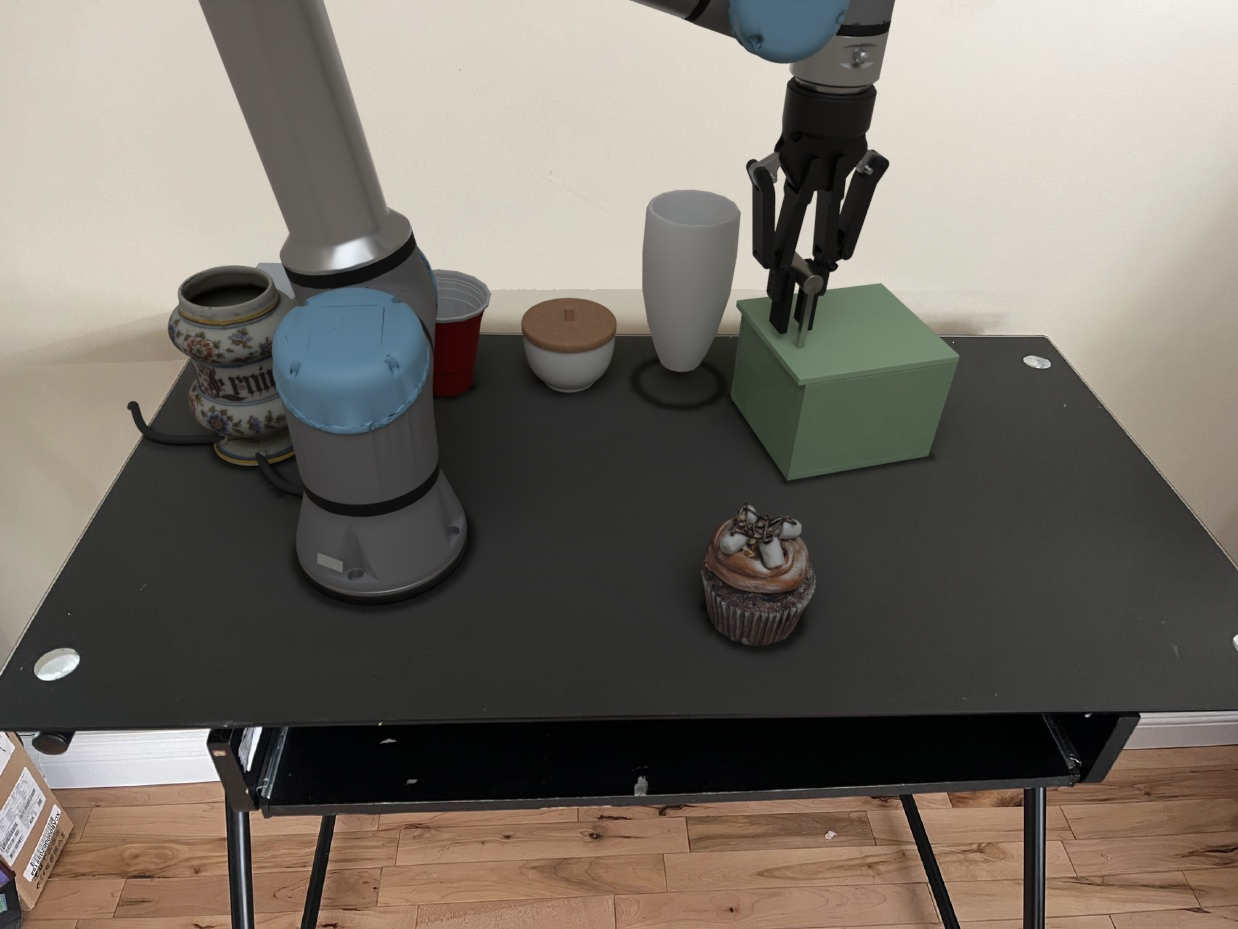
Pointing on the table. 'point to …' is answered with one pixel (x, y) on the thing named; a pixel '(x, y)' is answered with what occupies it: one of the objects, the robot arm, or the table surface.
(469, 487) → the table surface
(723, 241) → the cup
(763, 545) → the cupcake
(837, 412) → the green open box
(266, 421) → the apothecary jar
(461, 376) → the plastic cup
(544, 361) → the white bowl with lid
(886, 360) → the green box lid
